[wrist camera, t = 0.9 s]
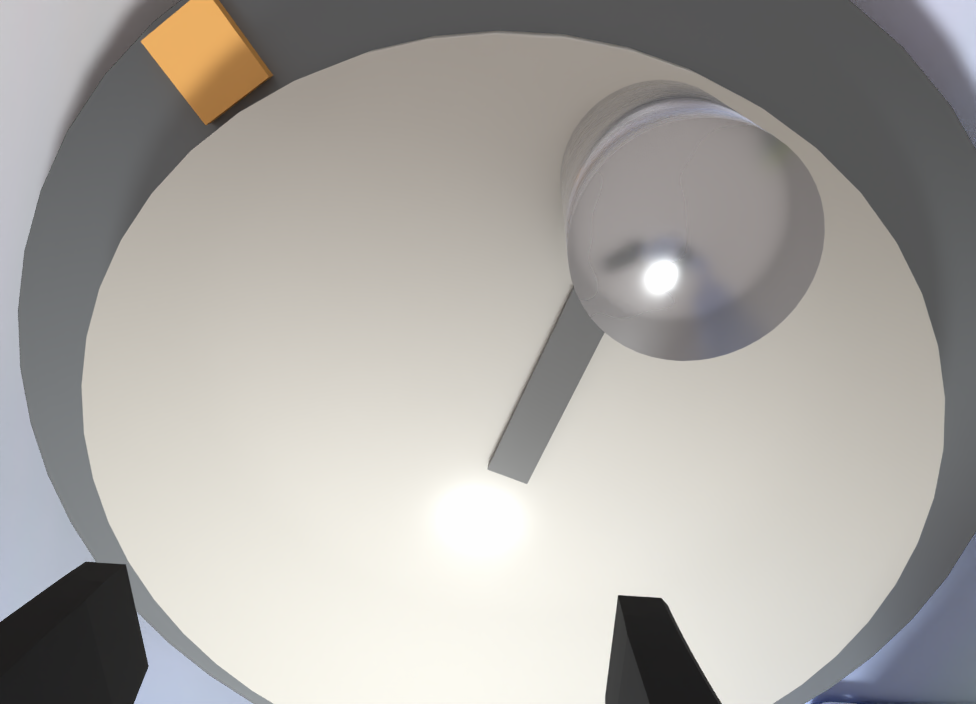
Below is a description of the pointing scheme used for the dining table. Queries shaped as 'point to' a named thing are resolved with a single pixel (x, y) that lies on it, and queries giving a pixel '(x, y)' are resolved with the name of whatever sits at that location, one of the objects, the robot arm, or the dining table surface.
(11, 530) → the dining table surface
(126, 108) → the stand base
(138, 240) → the dial
